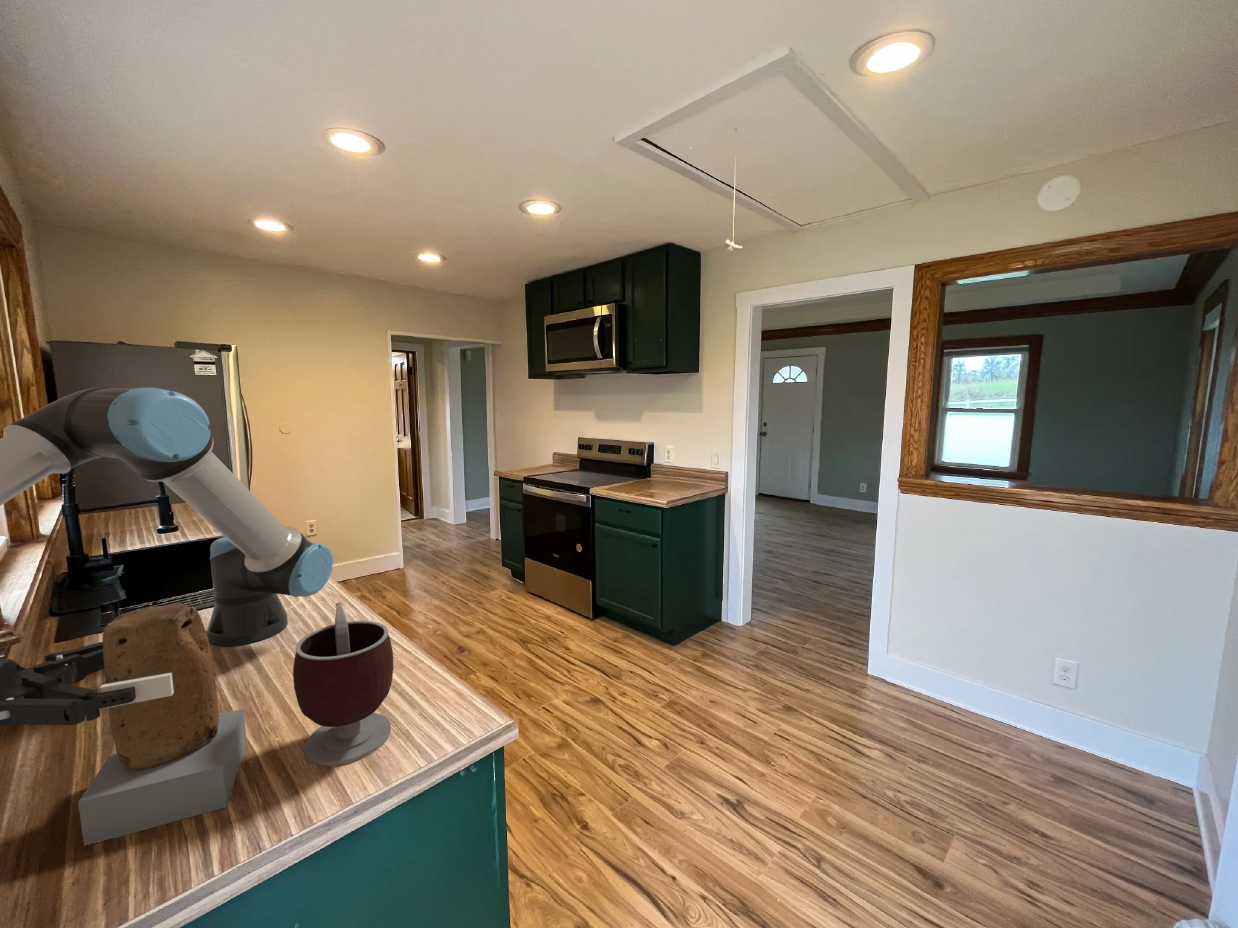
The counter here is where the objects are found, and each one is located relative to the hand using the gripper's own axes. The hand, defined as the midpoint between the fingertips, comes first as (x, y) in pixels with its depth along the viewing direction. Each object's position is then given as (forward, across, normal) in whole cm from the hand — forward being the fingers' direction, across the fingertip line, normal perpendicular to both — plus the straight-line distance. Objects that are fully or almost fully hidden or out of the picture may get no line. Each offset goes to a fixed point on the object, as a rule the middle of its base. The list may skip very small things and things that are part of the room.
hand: (188, 659), depth 71 cm
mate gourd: (+19, -2, -19) cm, 27 cm away
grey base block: (-3, 0, -19) cm, 19 cm away
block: (-3, 0, -13) cm, 13 cm away
